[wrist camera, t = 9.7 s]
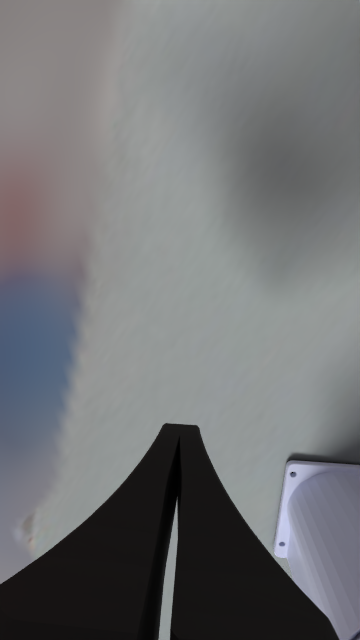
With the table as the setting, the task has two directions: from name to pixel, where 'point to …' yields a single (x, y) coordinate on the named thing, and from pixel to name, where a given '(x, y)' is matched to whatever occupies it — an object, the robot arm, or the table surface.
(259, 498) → the table surface
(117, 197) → the table surface
